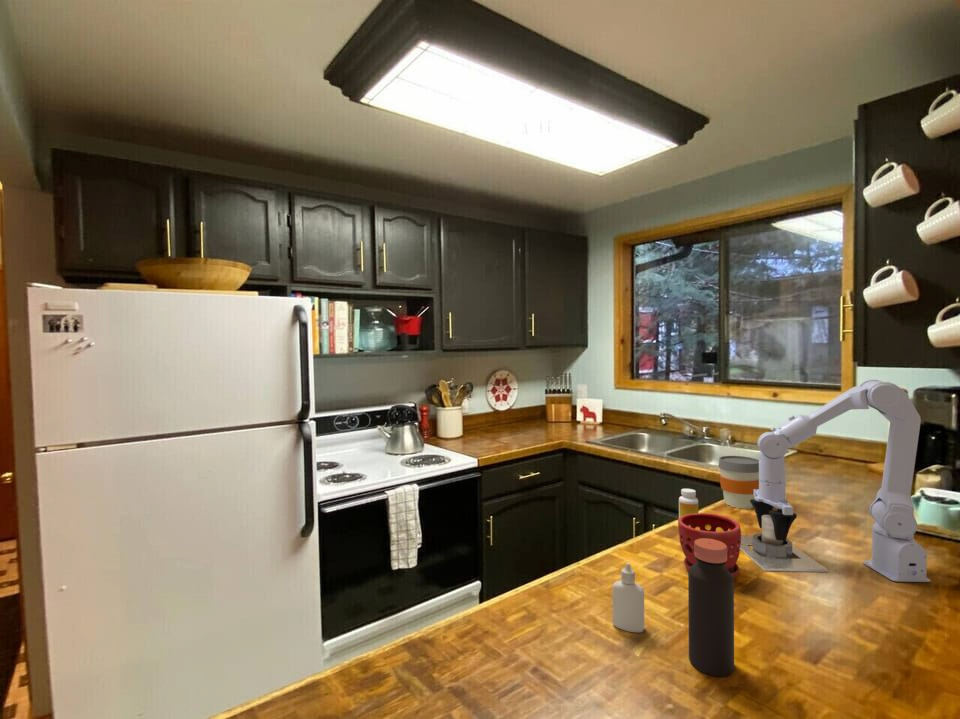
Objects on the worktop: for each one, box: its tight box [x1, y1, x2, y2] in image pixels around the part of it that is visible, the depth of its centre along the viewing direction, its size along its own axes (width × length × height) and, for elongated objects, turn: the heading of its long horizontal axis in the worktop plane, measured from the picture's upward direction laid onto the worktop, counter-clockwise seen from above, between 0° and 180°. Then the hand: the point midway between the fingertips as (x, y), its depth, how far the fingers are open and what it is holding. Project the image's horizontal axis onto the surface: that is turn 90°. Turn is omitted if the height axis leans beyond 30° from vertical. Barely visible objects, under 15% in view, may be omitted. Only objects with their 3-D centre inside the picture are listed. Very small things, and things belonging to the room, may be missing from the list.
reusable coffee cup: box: [718, 455, 760, 510], centre depth 157 cm, size 13×13×15 cm
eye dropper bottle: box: [611, 562, 645, 633], centre depth 89 cm, size 4×6×12 cm
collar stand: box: [740, 533, 828, 573], centre depth 120 cm, size 20×14×3 cm
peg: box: [761, 515, 783, 545], centre depth 120 cm, size 4×4×9 cm
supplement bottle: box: [678, 488, 699, 519], centre depth 141 cm, size 5×5×10 cm
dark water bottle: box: [687, 538, 735, 677], centre depth 78 cm, size 7×7×20 cm
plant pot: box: [677, 512, 742, 579], centre depth 110 cm, size 13×13×12 cm
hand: (772, 533), depth 120 cm, fingers open, 7 cm apart
